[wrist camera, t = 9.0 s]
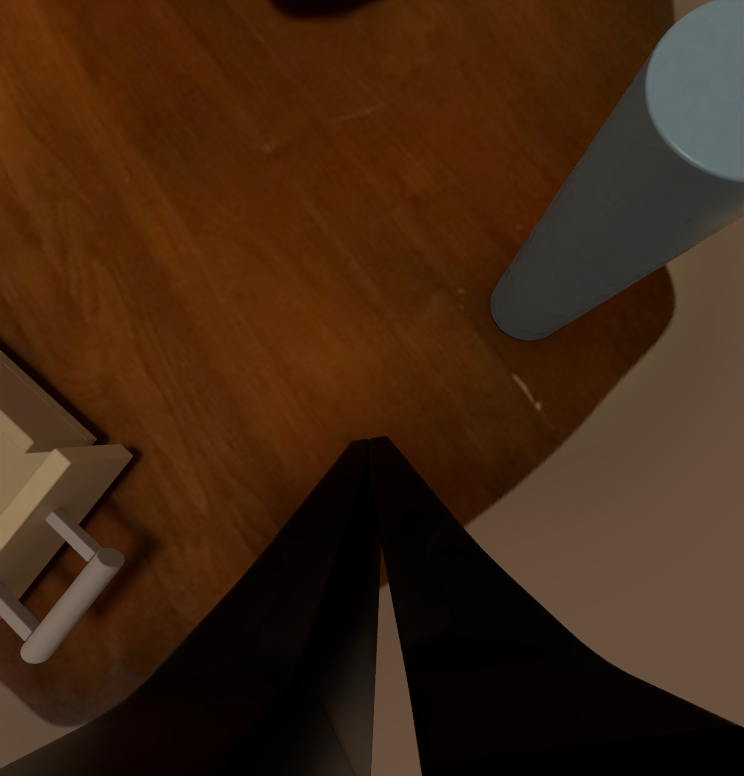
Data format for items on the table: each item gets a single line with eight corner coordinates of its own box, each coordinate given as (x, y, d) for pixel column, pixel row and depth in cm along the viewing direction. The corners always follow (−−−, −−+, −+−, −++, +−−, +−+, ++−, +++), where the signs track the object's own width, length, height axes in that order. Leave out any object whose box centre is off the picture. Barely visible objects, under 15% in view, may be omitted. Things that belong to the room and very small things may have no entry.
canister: (540, 354, 21) (807, 219, 7) (475, 316, 22) (607, 120, 8) (580, 293, 21) (918, 43, 7) (515, 256, 22) (712, -41, 8)
